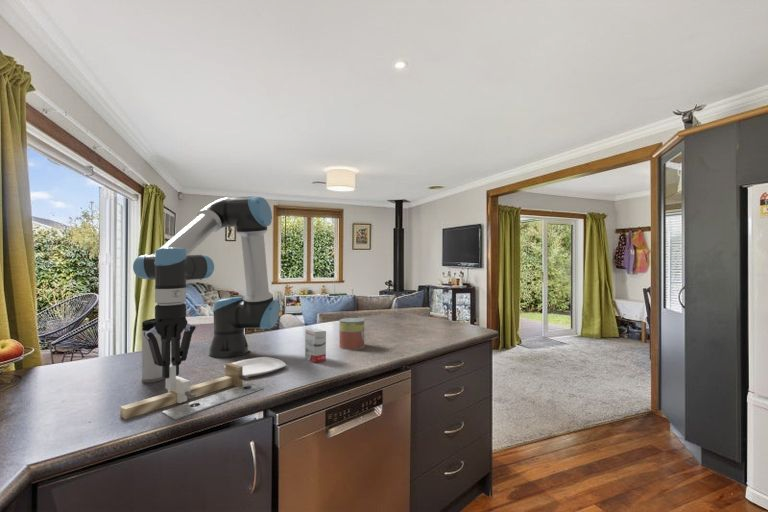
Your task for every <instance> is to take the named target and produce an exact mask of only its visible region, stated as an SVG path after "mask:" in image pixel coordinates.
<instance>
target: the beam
mask: <svg viewBox="0 0 768 512" xmlns="http://www.w3.org/2000/svg"><path fill="white" fill-rule="evenodd" d="M232 363H233V362H228V363H225V364H224V365H225V367H224V369H225V370H224V371H225V372H224V373H225V375H224V376H222V377H217V378H213V379H210V380H207V381H204V382H201V383H195V384H193V385H190V392H191V393H193V394H195V397H194V398H197V397H200V396H203V395H207V394H209V393H213V392H217V391H219V390H222V389H224V388H229V387H232V386H234V387H238V386H242V385H244V384H243V381H246V382H247V381H249V377H246V376H243V367H242V366H239V365H235V364H232ZM191 399H192V398H191V397H188V396H187V401H188V400H191ZM174 404H179V403H178V402H177V393H175V392H173V391H172V392H169V393H168V392H165V393H162V394H159V395H156V396H152V397H148V398H145V399H142V400H141V399H140V400H138V401H134V402H131V403H128V404H125V405H121V406H120V408H119V409H120V414H119V415H120V417H121V418H122V419H124V420H127V419H128V420H129V419H131V418H134V417H137V416H140V415H144V414H147V413H149V412H153V411H157V410H159V409H162V408H165V407H169V406H172V405H174Z"/></svg>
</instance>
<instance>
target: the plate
mask: <svg viewBox="0 0 768 512" xmlns="http://www.w3.org/2000/svg"><path fill="white" fill-rule="evenodd" d="M231 363H232V364H235V365H239V366H242V367H243V376H246V377H248V378H250V377H258V376H262V375H266V374H269V373H273V372H276V371H279V370H280V369H281V368H284V367H287V364H286V363H285V362H284V361H283V360H281V359H278V358H275V357H268V356H260V357H259V356H257V357H252V358H246V359H240V360H238V361H234V362H231ZM223 366H224V368H225V364H224V365H223Z"/></svg>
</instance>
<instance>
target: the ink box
mask: <svg viewBox="0 0 768 512" xmlns="http://www.w3.org/2000/svg"><path fill="white" fill-rule="evenodd" d="M304 332H305V333H304V335H305V336H304V339H305V340H304V341H305V342H304V359H305V360H308V361H310V362H312V363H314V364H316V363H322V362H326V361H327V358H326V357H327V349H326V348H327V331H326V330H323V329H320V328H317V327H316V328H315V327H314V328H313V327H312V328H305V330H304Z"/></svg>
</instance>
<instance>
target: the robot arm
mask: <svg viewBox="0 0 768 512" xmlns="http://www.w3.org/2000/svg"><path fill="white" fill-rule="evenodd" d="M272 220H273V212H272V209H271V206H270V203H269V202H268V201H267V200H266V198H265V197H262V196H254V195H253V196H252V195H251V196H227V197H226V196H225V197H221V198H219V199H217V200H214V201H213V202H211V203H209V204H208V205H206V206H205V207H203V208H202V209H200V210H199V211H198V212H197V214H196V217H195V218H194V219H193V220H192V221H191V222H189V223H188V224H187V225H186V226H184V227H183V228H182V229H180V231H179V232H178V231H177V233H176V234H175V235H173V236H172V237H171V238H170V239H169V240H168V241H166V242H165V243H163V245H161V246H160V247H158V248H157V249H156V250H155V251H154V252H153V253H152V254H143V255H140V256H139V255H138V256H137V257H136V258H135V259H134V261H133V263H132V264H133V265H132V270H133V272H134V274H135V276H136V277H137V278H138V279H141V280H142V279H143V280H149V281H150V280H151V281H153V280H154V303H155V304H156V305H155V306H154V319H155V323H154V325H153V328H152V329H151V330H149V331H148V332H147V331H146V332H144V336H145V337H146V338H147V340H148V342H149V346H150V349H151V353H152V357H153V360H154V364H155V365H158V366H162V377H163V378H164V379H165V390H167V391H168V390H170V391H171V390H174V389H176V376H179V375H180V365H181V364H182V362H184V361H186V360H187V357H188V354H189V351H190V350H189V348H190V345H191V340H192V337H193V334H194V331H195V330H196V328H197V327H196V325H193V324H192V325H191V323H189V322H188V320H187V317H186V316H187V304H186V303H185V302H186V301H187V281H196V280H200V281H201V280H204V279H208V278H210V277H211V276H212V275H213V273H214V270H215V264H214V261H213V259H212V258H211V257H210V256H208V255H203V254H191V253H192V252H193V251H195V250H196V248H198V246H200V245H201V244H202V243H203V242H204V241H205V240H206V239H207V238H208V237H209V236H210V235H211V234H212V233H217V232H219V231H220V230H221V229H223V228H227V227H235V229H236V230H235V232H236V233H237V234H239V236H240V238H241V240H240V241H241V250H242V259H243V268H244V269H243V271H244V279H245V289H246V295H245V296H243V295H241V296H234V297H227V298H221V299H217V300H215V301H214V303H213V310H212V312H213V338H212V339H211V340H212V341H211V342H210V347H209V349H208V356H210V357H212V358H233V357H237V356H242V355H245V354H246V353H248V352H249V344H248V342H247V339H246V335H245V329H253V330H267V329H269V330H270V329H271V328H274V327H275V325H276V324H277V322H278V319H279V316H280V310H281V306H280V305H281V304H280V303H279V301H278V300H275V299H274V295H273V293H272V292H270V291H269V290H270V289H269V278H268V268H267V265H268V264H267V257H266V256H267V255H266V247H265V246H266V244H265V234H266V232H268V227H269V226H270V225H271V224H272ZM183 331H184V332H183ZM156 332H157V333H158V334H159V335H160V336H161V353H160V349H159V346H158V342H157V339H156ZM182 333H183V334H182ZM181 337H182V338H181Z"/></svg>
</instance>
